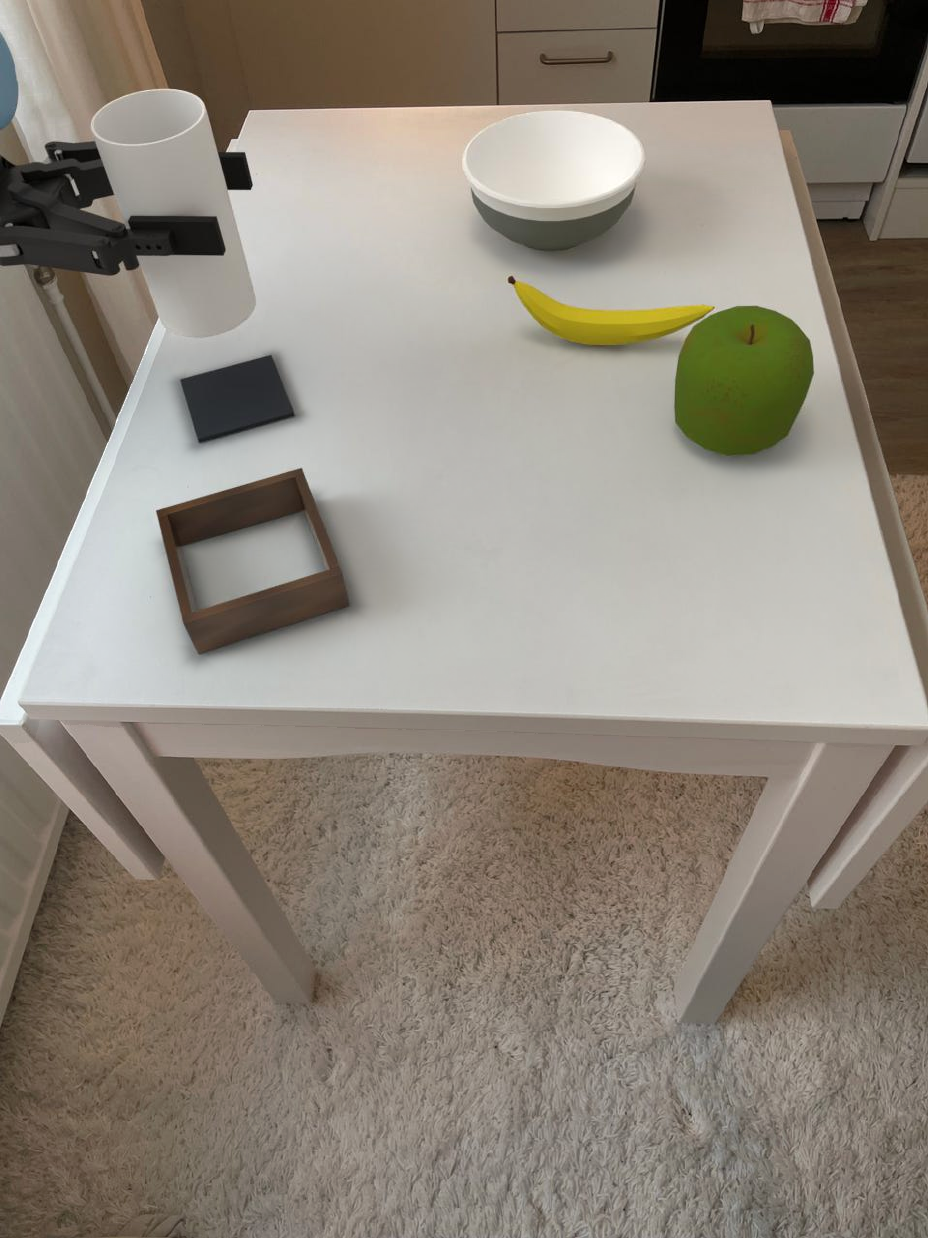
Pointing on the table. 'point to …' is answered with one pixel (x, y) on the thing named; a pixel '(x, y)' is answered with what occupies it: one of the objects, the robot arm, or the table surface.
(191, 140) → the cup
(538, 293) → the banana
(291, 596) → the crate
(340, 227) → the table surface
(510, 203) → the bowl
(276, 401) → the pad
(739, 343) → the apple
